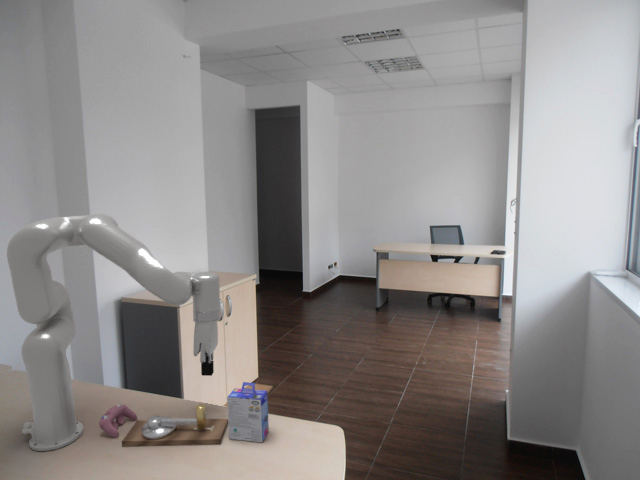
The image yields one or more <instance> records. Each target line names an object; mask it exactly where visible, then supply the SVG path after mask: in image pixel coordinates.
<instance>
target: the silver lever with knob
mask: <svg viewBox="0 0 640 480" xmlns="http://www.w3.org/2000/svg"><path fill="white" fill-rule="evenodd" d="M195 414H196V415H195V417H196V418H173V417H172V416H171V417H170V416H161V415H153V416H150V417H148V419H146V420H147V423H146V424H144V425H143V427H142V429H141V431H142V436H143V437H144V438H146V439H160V438H164V437H166V436H168V435H170V434H171V433H173V432H174V431H175V430H176V427H177V426H197V429H204V428H206V419H207V417H206V415H207V414H206V405H205V404H204V403H200V404H197V405H196V406H195Z"/></svg>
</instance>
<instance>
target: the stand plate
mask: <svg viewBox="0 0 640 480" xmlns="http://www.w3.org/2000/svg"><path fill="white" fill-rule="evenodd" d="M147 420H148V419H146V420H144V419H143V420H136V422H135V423H134V424H133V426H132V427H131V428H130V430H128V432H127V434H126V435H125V436H124V437H123V439H122V440H121V447H122V448H123V447H124V448H125V447H127V448H128V447H164V446H165V447H166V446H167V447H168V446H171V447H172V446H203V445H204V446H207V445H210V446H211V445H212V446H213V445H214V446H215V445H221V444H222V443H223V439H224V436H225V434H226V431H227V429H228V427H229V426H228V418H206V428H204V429H197V426H177V427H176V430H175V431H174V432H173V433H171V434H170V435H168V436H166V437H164V438H160V439H146V438H144V437H143V436H142V431H141V429H142V427H143V425H144V424H146V423H147Z"/></svg>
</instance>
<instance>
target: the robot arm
mask: <svg viewBox="0 0 640 480" xmlns="http://www.w3.org/2000/svg"><path fill="white" fill-rule="evenodd" d="M77 246H79V247H80V246H87V247H88V248H90V249H91V250H92V251H94V252H96V253H97V254H99V255H100V256H101V257H103V258H105V259H107V260H108V261H110V262H112V263H113V264H114V265H116V266H117V267H119V268H120V269H122V270H124V271H125V272H126V273H127V274H128V275H129V277H131V278H132V279H133V280H135V282H137V283H138V284H139V286H142V287H143V288H144V289H145V290H146V291H148V292H149V293H151V294H152V295H154V296H155V297H157V298H158V299H160V300H162V301H164V302H165V303H167V304H169V305H172V306H182V305H184V304H186V303H187V302H188V301H189V300H190V299H191V297H192V312H193V313H192V317H193V318H192V319H193V320H192V321H193V322H194V329H193V351H192V352H193V357H197V356H198V355H199V354H200V356H199V362H200V363H201V367H200V368H201V369H200V371H201V372H200V373H201V376H209V377H211V376H213V374H214V371H215V370H214V367H215V365H214V352H215V350H216V348H217V346H218V343H219V342H218V341H219V338H218V337H219V329H218V322H219V321H220V319H221V307H220V306H221V305H220V304H221V303H220V301H221V299H220V298H221V297H220V296H221V295H220V292H221V291H220V288H221V287H220V284H221V283H220V282H221V281H220V276H219V274H218V273H216V272H214V271H213V272H211V271H202V272H187V271H175V272H172V271H171V270H169V269H168V268H166V267H165V266H164V265H162V264H161V262H159V261H158V260H157V259H156V258H155V257H154V255H153V253H152V252H151V250H150V249H149V248H148V247H147V245H145V244H144V243H142V242H141V241H140V240H138V239H136V238H135V237H134V236H132V235H130V234H129V233H127V232H126V231H125V230H123V229H122V228H120V227H119V224H118V223H117V221H116V219H114V218H113V217H112V216H111V215H107V214H104V213H97V214H96V213H95V214H85V215H69V216H57V217H51V218H46V219H40V220H37V221H33V222H31V223H29V224H28V225H26V226H24V227H22V228H21V229H19V230H18V231H17V232H16V233H14V234H13V236H12V237H11V238H10V240H9V242H8V244H7V247H6V258H7V264H8V268H9V272H10V276H11V282H12V284H11V285H12V288H13V292H14V298H15V302H16V307H17V312H18V315H19V316H20V318H21V319H22V320H23V321H24V322H25V323H28V324H31V325H35V326H36V327H35V328H34V329H33V330H32V331H30V333H29V334H27V336H26V338H25V339H24V341H23V343H22V346H21V358H22V361H23V364H24V368H25V371H26V375H27V381H28V389H29V394H30V402H31V409H32V418H33V419H32V420H33V421H25V422H24V424H23V428H22V430H21V434H23V435H27V434H30V435H31V437H30V439H29V442H28V443H29V447H30V449H31V450H34V451H36V452H49V451H53V450H56V449H60V448H63V447H65V446H68V445H70V444H72V443H73V442H75V441H76V440H77V439H79V437H81V436H82V434H83V432H84V425H83V423H82V422H81V421H78V420H77V417H76V411H75V410H76V409H75V400H74V393H73V392H74V390H73V381H72V375H71V367H70V364H69V360H68V357H67V349H68V347H69V346H70V345H71V343H72V342H73V340H74V338H75V336H76V321H75V319H74V318H75V316H74V313H73V309H72V308H73V307H72V302H71V298H70V297H71V296H70V294H69V292H68V289H67V288H66V286H64V285H63V284H62V283H61V282H59V281H57V280H53V276H52V270H51V266H50V265H49V262H48V260H47V258H48V255H49V254H51V253H53V252H56V251H58V250H61V249H63V248H66V247H77Z"/></svg>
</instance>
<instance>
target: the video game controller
mask: <svg viewBox="0 0 640 480" xmlns="http://www.w3.org/2000/svg"><path fill="white" fill-rule="evenodd" d="M125 418H127V419H129V420H131V421H137V419H138V415H137V413H136V412H135V411H133V410H132V409H131V408H129V406H127V405H125V404H123V403H121V404H116V405H114V406H112V407H110V408H108V410H107V411H106V412H105V413H104V414H103V416H102V417H101V418H100V419H99V423H98V426H99V428H100V429H101V430H103V431H104V432H105V433H106V434H107V435H109V436H111V437H112V438H118V437H120V436H119V435H120V434H119V431H118V430H117V429H118V426H121V425H123V424H124V423H125Z"/></svg>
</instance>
